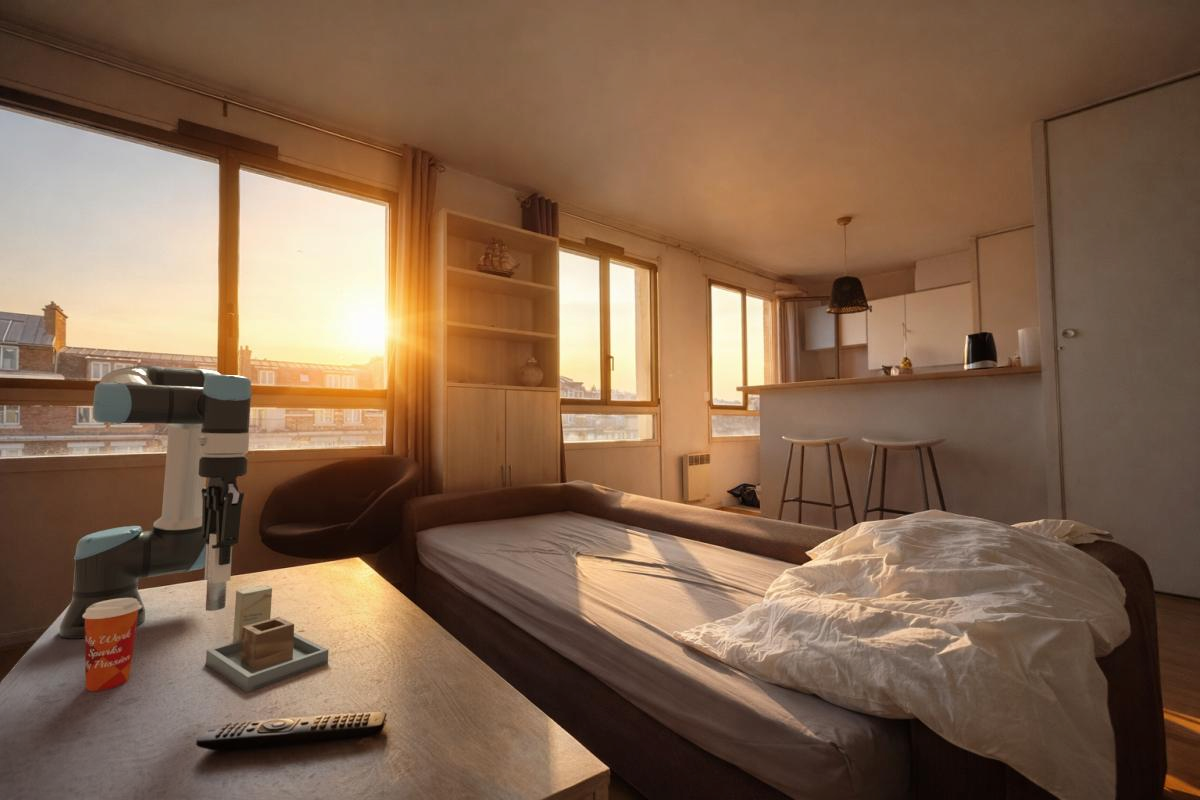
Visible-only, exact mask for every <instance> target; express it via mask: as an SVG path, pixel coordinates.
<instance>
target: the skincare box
mask: <svg viewBox="0 0 1200 800" xmlns="http://www.w3.org/2000/svg"><path fill="white" fill-rule="evenodd" d="M272 593H273V588H272V587H271V586H269V585H267V584H262V585H258V586H253V587H248V588H242V589H236V591H235V606H234V620H233V634H232V642H236V641H239V640H242V628H243V626H247V625H250V624H254V623H258V622H262V621H265V620H269V619H271V615H272V614H271V613H272V612H271V611H272V597H273V594H272Z"/></svg>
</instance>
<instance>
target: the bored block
mask: <svg viewBox="0 0 1200 800" xmlns="http://www.w3.org/2000/svg"><path fill="white" fill-rule="evenodd" d="M294 633H295V623H292V622H291V621H288V620H287V619H285V618H283V617H280V616H276V617H274V618H270V619H269V620H265V621H262V622H258V623H254V624H250V625H247V626H243V628H242V647H241V662H243V663H245V664H246V665H248V666H249V667H251V668H253V669H254V670H258V669H261V668H264V667H267V666H270V665H273V664H276V663H279V662H282V661H285V660H288V659H291V658H293V641H294Z"/></svg>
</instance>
